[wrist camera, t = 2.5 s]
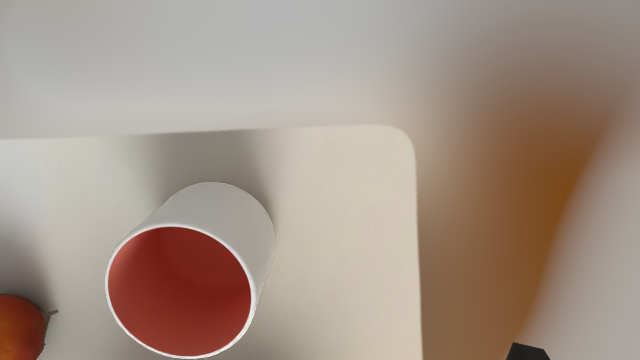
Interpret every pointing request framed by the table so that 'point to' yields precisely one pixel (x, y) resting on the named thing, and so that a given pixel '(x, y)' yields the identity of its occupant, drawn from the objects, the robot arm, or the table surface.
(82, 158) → the table surface
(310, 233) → the table surface
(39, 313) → the fruit
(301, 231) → the table surface
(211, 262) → the cup
